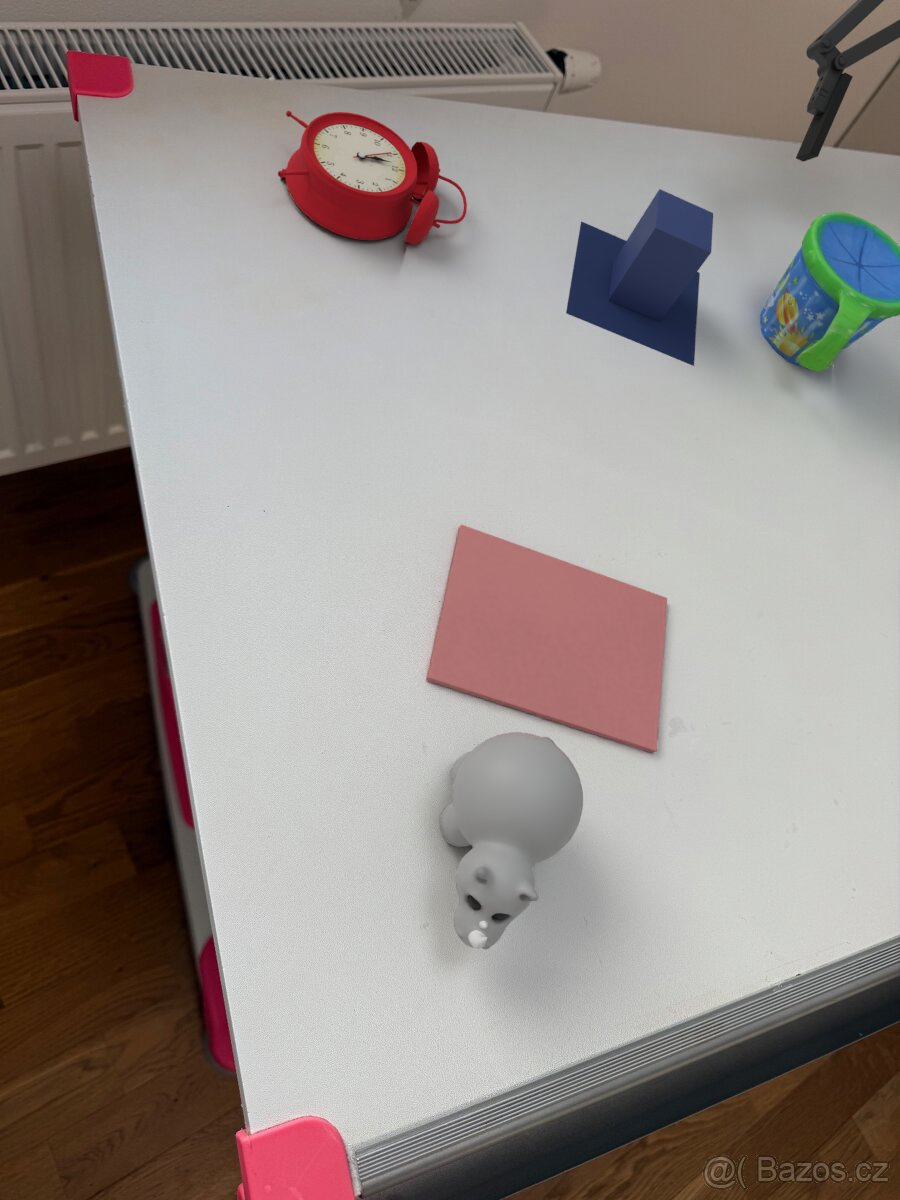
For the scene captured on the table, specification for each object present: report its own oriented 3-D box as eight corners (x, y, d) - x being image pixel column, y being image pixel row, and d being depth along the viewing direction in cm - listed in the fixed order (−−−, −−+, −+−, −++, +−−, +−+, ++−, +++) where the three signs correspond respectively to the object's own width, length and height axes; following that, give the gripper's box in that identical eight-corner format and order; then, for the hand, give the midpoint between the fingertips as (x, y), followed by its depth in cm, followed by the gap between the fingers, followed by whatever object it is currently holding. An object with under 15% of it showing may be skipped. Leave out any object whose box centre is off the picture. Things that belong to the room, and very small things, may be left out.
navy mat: (696, 276, 89) (699, 272, 88) (691, 369, 83) (694, 365, 82) (578, 225, 87) (581, 220, 86) (563, 317, 80) (566, 312, 80)
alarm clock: (284, 90, 76) (473, 108, 77) (287, 159, 81) (464, 176, 83) (272, 179, 71) (475, 197, 72) (277, 247, 76) (465, 263, 78)
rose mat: (664, 600, 70) (667, 597, 69) (653, 753, 64) (657, 751, 63) (458, 527, 67) (461, 523, 66) (425, 680, 61) (428, 677, 60)
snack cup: (823, 422, 85) (907, 345, 77) (723, 360, 85) (795, 275, 76) (852, 320, 94) (929, 240, 85) (761, 263, 93) (830, 177, 85)
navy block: (663, 283, 86) (713, 212, 79) (660, 322, 83) (711, 252, 77) (613, 261, 85) (659, 188, 78) (608, 300, 82) (655, 227, 76)
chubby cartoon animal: (383, 934, 53) (432, 904, 46) (449, 743, 59) (501, 691, 52) (500, 984, 53) (566, 963, 46) (554, 790, 60) (618, 746, 53)
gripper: (1082, 9, 85) (967, 249, 89) (839, -124, 80) (730, 137, 84) (1151, -20, 77) (1021, 242, 82) (888, -168, 73) (767, 120, 77)
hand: (874, 190), depth 83 cm, fingers open, 13 cm apart
